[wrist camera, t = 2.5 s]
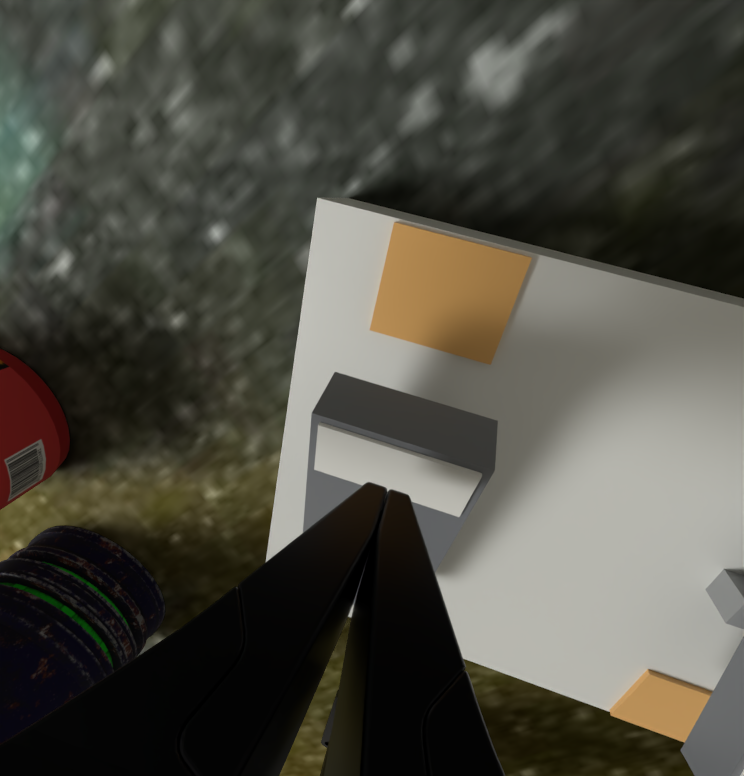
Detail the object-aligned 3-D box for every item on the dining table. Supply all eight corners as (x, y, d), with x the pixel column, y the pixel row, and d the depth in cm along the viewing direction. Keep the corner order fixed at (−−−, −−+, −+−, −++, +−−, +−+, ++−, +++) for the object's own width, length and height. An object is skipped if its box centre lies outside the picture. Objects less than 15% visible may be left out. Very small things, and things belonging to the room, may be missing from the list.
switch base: (694, 677, 19) (749, 795, 15) (289, 535, 21) (249, 609, 17) (1017, 368, 12) (1276, 448, 8) (347, 198, 14) (300, 198, 10)
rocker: (413, 582, 15) (404, 626, 14) (314, 547, 16) (297, 587, 15) (497, 420, 9) (494, 474, 8) (335, 371, 10) (309, 416, 9)
